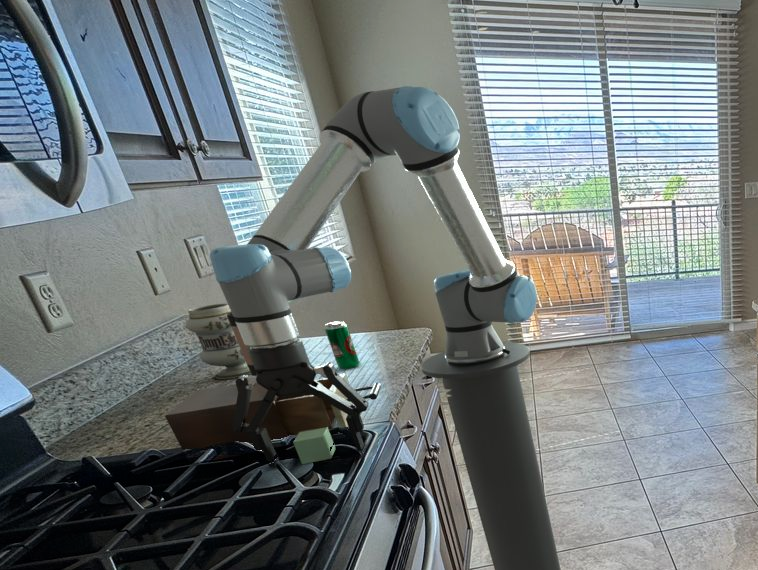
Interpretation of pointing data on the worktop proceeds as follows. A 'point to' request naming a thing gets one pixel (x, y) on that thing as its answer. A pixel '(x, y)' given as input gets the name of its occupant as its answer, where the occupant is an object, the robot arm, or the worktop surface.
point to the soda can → (341, 345)
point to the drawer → (316, 409)
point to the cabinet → (219, 418)
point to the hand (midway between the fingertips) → (318, 455)
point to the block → (314, 445)
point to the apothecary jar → (217, 340)
